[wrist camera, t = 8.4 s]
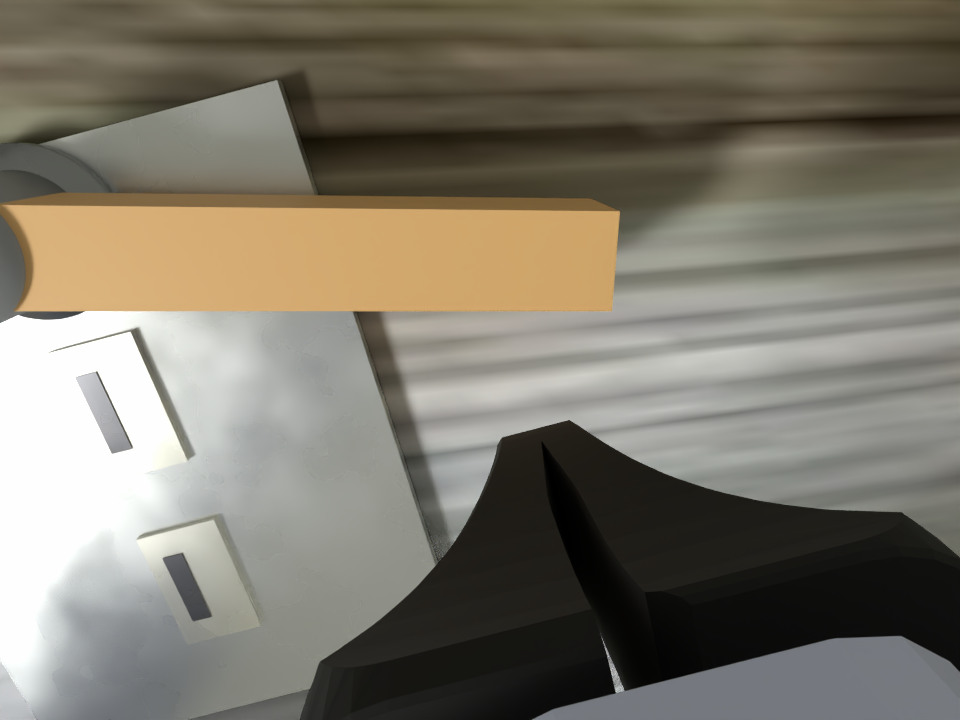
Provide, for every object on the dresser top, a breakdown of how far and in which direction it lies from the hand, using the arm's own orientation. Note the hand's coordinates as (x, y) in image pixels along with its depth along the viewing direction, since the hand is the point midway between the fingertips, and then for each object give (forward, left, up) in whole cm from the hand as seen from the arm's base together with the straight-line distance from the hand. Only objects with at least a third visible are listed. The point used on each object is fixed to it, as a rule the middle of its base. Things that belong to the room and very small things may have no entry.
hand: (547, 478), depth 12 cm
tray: (-1, +11, -8) cm, 14 cm away
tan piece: (+4, +5, -7) cm, 10 cm away
